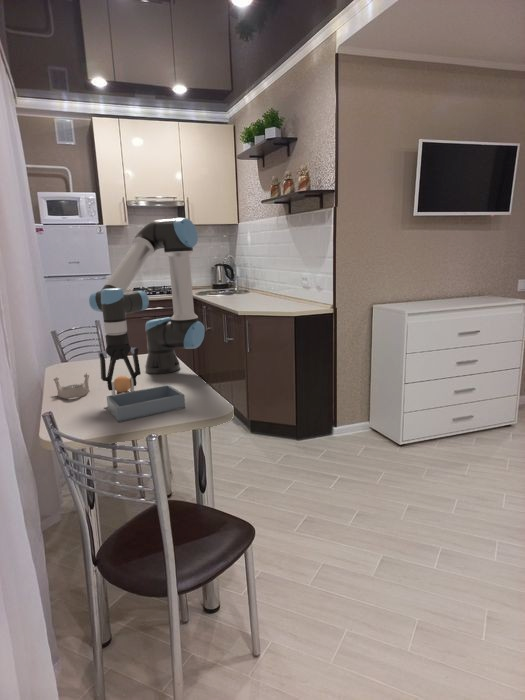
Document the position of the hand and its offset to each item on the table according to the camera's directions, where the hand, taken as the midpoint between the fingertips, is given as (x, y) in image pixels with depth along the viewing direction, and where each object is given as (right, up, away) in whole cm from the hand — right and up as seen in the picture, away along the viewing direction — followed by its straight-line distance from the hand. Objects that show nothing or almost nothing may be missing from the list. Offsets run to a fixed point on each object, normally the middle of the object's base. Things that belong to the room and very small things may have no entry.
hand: (123, 396), depth 164 cm
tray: (+11, -3, -10) cm, 15 cm away
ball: (0, +2, 0) cm, 2 cm away
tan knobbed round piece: (0, -1, 0) cm, 1 cm away
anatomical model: (-22, -1, +10) cm, 24 cm away
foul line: (+6, -2, -2) cm, 6 cm away
